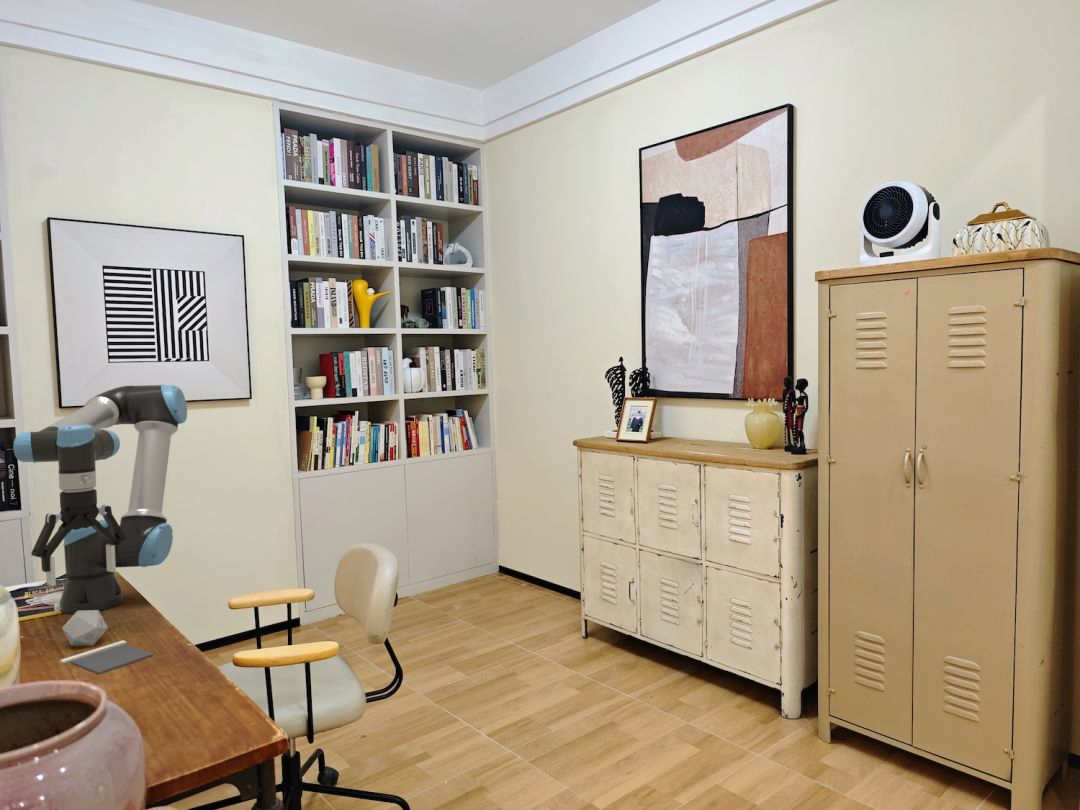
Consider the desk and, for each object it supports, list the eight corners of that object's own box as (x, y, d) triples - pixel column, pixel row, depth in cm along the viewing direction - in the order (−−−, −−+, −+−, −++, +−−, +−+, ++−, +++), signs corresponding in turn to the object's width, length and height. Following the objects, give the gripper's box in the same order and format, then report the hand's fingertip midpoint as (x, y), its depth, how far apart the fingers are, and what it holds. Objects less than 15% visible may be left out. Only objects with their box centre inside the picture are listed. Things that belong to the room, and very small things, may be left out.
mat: (123, 642, 180) (122, 640, 180) (157, 654, 172) (157, 652, 172) (60, 662, 169) (60, 659, 169) (93, 675, 161) (93, 673, 161)
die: (75, 655, 174) (103, 618, 177) (47, 636, 175) (74, 599, 178) (95, 655, 182) (121, 619, 185) (68, 636, 183) (94, 601, 186)
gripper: (26, 498, 166) (31, 593, 167) (138, 483, 187) (142, 567, 187) (11, 496, 170) (16, 588, 171) (122, 481, 191) (126, 564, 192)
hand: (82, 577), depth 179 cm, fingers open, 13 cm apart
